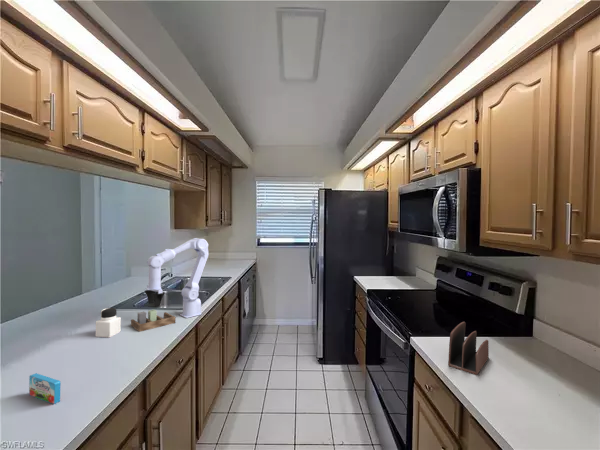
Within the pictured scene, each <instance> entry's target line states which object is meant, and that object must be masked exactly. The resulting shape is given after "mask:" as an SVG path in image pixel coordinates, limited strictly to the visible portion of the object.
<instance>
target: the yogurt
mask: <svg viewBox="0 0 600 450" xmlns="http://www.w3.org/2000/svg"><path fill="white" fill-rule="evenodd" d="M28 377H29V378H28V379H29V383H28V385H29V386H28V387H29V388H28V393H29V396H30V397H33V398H36V399H38V400H41V401H44V402H46V403H49V404H52V405H56V404H58V403H60V402H61V383H62V382H61V381H60V380H59V379H55V378H52V377H51V376H50V377H49V376H46V375H43V374H40V373H37V372H36V373H33V374H30V375H29V376H28Z"/></svg>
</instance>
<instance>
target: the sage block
mask: <svg viewBox="0 0 600 450" xmlns="http://www.w3.org/2000/svg"><path fill="white" fill-rule="evenodd" d="M157 316H158V311H157V310H156V309H150V310H147V319H149V320H151V321H156V319H157Z"/></svg>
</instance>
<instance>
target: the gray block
mask: <svg viewBox="0 0 600 450" xmlns="http://www.w3.org/2000/svg"><path fill="white" fill-rule="evenodd" d="M136 317H137V322H138V323H140V324H144V323H146V318H147V312H146V311H140V312H137V316H136Z"/></svg>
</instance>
